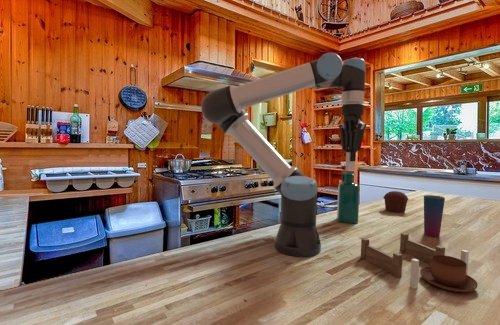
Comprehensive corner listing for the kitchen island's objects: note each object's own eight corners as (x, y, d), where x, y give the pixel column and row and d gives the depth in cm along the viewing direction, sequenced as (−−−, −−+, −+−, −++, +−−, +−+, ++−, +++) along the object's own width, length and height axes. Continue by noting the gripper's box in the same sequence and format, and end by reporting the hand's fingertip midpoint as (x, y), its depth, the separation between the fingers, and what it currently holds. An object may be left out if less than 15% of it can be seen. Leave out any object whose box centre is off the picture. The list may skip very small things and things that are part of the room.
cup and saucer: (420, 269, 81) (421, 248, 81) (473, 280, 75) (475, 257, 74) (419, 287, 71) (420, 263, 70) (480, 302, 65) (483, 276, 64)
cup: (422, 236, 109) (424, 197, 108) (420, 231, 115) (423, 194, 114) (443, 239, 106) (446, 199, 104) (441, 234, 112) (443, 196, 110)
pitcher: (358, 224, 124) (361, 173, 122) (338, 222, 125) (340, 173, 124) (355, 218, 133) (357, 171, 131) (336, 216, 135) (338, 170, 133)
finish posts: (414, 288, 70) (415, 261, 69) (409, 286, 71) (411, 259, 70) (467, 276, 76) (468, 251, 76) (462, 274, 78) (464, 249, 77)
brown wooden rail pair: (396, 277, 76) (398, 255, 75) (360, 257, 88) (361, 238, 88) (443, 267, 82) (445, 247, 81) (403, 250, 94) (404, 232, 94)
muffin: (384, 212, 145) (385, 192, 144) (381, 207, 155) (382, 189, 154) (410, 214, 141) (411, 194, 140) (405, 209, 152) (406, 190, 151)
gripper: (374, 102, 96) (371, 172, 98) (350, 106, 109) (348, 168, 111) (355, 101, 94) (352, 172, 96) (333, 106, 107) (331, 168, 109)
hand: (350, 170), depth 104 cm, fingers closed
